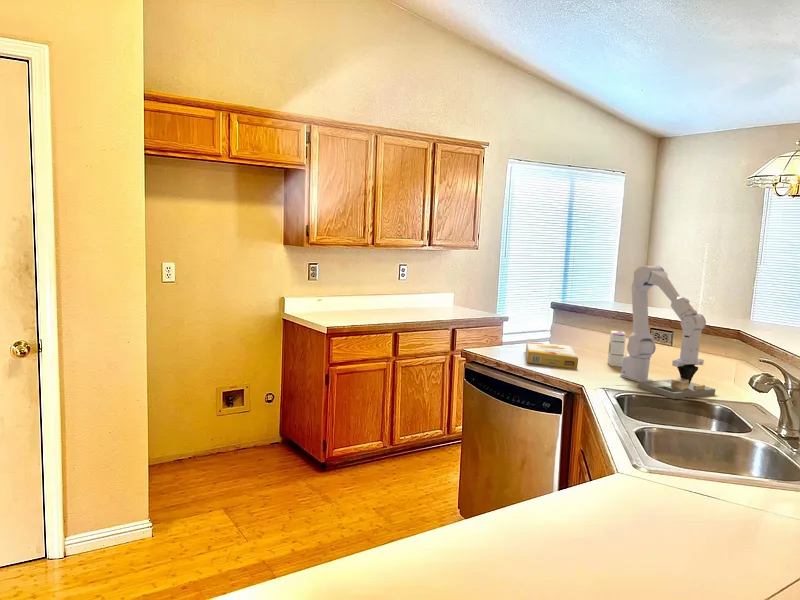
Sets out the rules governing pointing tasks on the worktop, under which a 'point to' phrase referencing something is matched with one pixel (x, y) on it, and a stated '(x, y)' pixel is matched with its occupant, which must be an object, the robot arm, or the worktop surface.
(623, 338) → the syrup box
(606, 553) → the worktop surface
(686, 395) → the board
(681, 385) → the birch block
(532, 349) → the cereal box
